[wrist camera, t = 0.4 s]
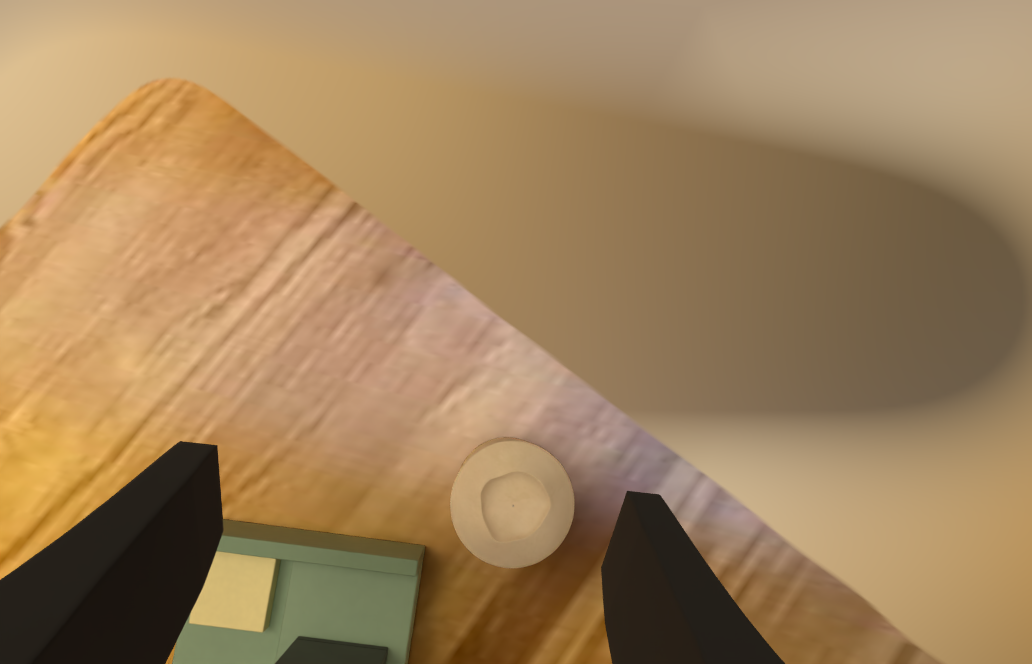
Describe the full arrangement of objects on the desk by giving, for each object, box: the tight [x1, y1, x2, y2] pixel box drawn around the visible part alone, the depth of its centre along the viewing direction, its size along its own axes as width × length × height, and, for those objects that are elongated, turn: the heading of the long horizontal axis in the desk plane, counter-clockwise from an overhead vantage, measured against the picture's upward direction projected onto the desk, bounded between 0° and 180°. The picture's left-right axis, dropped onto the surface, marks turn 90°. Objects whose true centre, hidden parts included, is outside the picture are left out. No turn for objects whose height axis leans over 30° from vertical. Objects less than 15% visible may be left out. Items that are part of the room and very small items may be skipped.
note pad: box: [189, 551, 281, 633], centre depth 35 cm, size 4×4×1 cm
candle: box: [450, 437, 574, 568], centre depth 33 cm, size 6×6×10 cm
